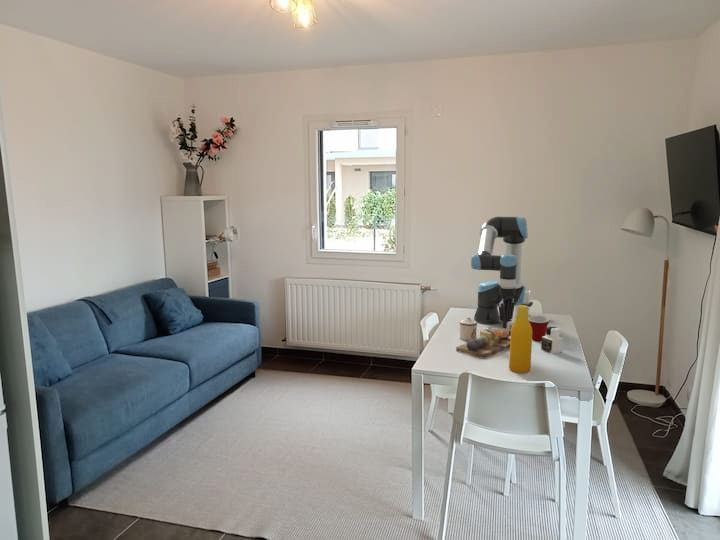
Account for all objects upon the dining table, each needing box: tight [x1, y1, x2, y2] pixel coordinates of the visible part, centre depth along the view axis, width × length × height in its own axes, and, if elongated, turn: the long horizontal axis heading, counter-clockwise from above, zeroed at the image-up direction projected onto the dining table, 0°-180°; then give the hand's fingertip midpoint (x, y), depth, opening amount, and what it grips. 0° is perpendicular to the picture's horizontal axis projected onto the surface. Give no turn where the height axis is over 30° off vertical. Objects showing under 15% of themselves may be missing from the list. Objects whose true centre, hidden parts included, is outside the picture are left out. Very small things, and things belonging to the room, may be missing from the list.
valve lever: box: [485, 326, 509, 338], centre depth 270 cm, size 14×3×2 cm, turn 25°
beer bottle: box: [508, 305, 533, 374], centre depth 242 cm, size 9×9×29 cm
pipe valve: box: [455, 328, 511, 359], centre depth 276 cm, size 32×16×9 cm, turn 134°
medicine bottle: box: [540, 326, 564, 355], centre depth 269 cm, size 7×7×12 cm
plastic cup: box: [528, 315, 550, 343], centre depth 287 cm, size 11×11×12 cm
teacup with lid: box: [459, 316, 478, 342], centre depth 292 cm, size 12×9×12 cm
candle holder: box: [514, 289, 534, 318], centre depth 338 cm, size 25×24×16 cm
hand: (505, 334), depth 268 cm, fingers closed
